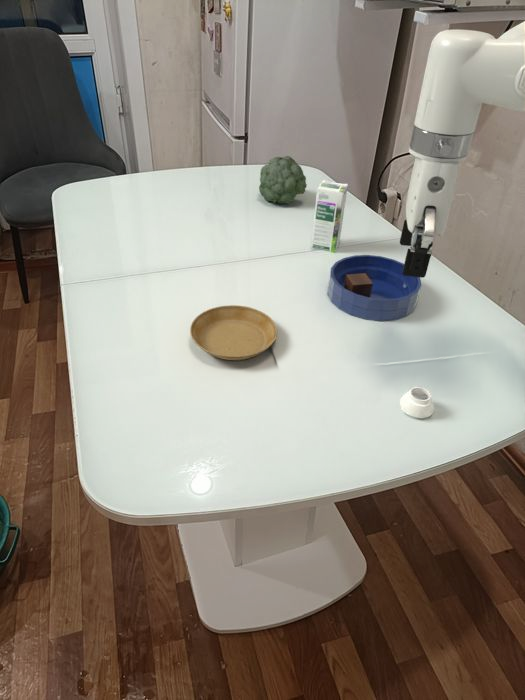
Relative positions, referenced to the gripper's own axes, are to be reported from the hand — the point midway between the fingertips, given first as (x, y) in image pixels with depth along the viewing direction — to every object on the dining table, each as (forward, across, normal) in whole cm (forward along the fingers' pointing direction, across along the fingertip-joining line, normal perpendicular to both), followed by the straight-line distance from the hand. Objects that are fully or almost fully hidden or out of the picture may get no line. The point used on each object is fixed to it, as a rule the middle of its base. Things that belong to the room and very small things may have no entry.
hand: (411, 259), depth 77 cm
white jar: (+18, -14, -4) cm, 23 cm away
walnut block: (+17, +15, +6) cm, 24 cm away
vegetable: (+18, +62, +28) cm, 70 cm away
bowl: (+18, +16, +3) cm, 24 cm away
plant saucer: (+18, -3, +27) cm, 32 cm away
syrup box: (+18, +36, +14) cm, 42 cm away
